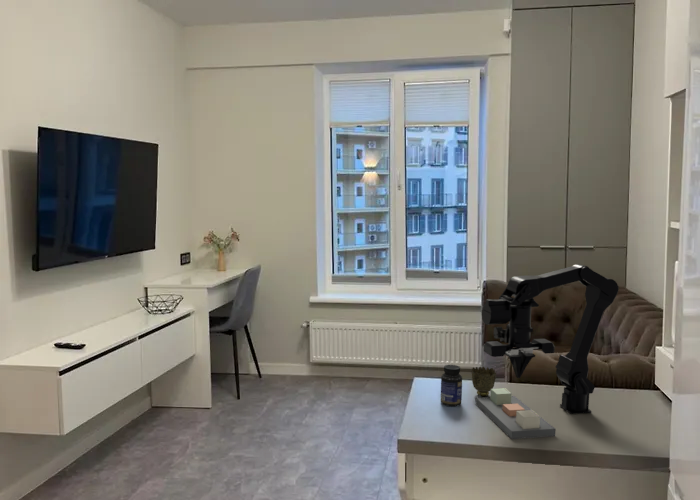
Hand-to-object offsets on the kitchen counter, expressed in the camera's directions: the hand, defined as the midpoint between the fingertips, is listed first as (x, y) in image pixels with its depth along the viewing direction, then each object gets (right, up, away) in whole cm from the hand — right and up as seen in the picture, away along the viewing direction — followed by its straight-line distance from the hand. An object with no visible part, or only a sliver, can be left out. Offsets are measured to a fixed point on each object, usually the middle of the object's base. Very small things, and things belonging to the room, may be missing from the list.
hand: (518, 377), depth 170 cm
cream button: (0, -11, -11) cm, 15 cm away
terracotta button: (-2, -11, -2) cm, 11 cm away
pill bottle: (-17, -10, +9) cm, 22 cm away
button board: (-2, -11, -2) cm, 11 cm away
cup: (-6, -9, +16) cm, 20 cm away
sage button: (-3, -9, +6) cm, 11 cm away
